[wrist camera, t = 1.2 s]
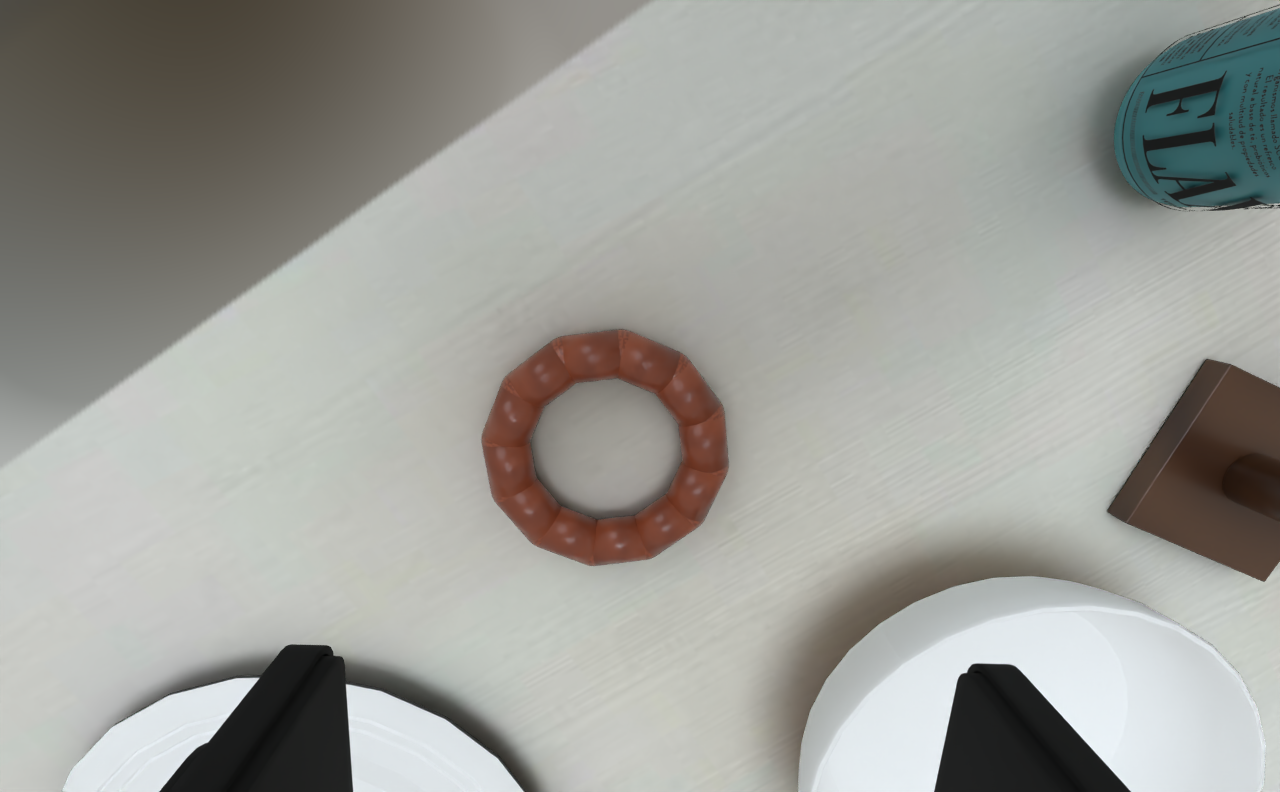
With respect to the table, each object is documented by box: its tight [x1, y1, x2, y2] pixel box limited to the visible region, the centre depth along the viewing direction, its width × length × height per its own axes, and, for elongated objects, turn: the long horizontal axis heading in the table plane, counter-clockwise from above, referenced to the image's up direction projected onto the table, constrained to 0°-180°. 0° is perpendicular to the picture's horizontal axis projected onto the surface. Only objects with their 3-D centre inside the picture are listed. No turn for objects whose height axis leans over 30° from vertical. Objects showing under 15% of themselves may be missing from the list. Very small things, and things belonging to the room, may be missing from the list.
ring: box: [482, 329, 729, 566], centre depth 28 cm, size 10×10×2 cm
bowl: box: [798, 576, 1266, 792], centre depth 30 cm, size 20×20×6 cm
